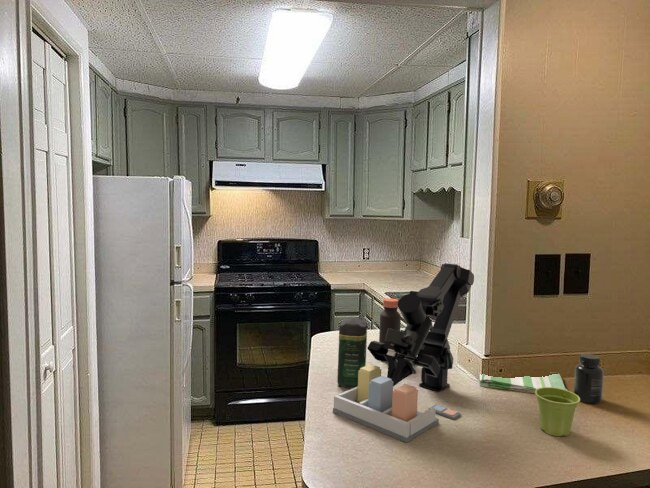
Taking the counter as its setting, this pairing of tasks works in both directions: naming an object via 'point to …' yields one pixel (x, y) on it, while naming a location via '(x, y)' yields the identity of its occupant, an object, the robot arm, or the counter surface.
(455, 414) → the tile
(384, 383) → the pale blue block
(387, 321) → the vinegar
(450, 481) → the counter surface
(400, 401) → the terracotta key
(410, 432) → the grey divided tray
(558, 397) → the plant pot
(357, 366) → the coffee jar
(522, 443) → the counter surface
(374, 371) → the yellow block
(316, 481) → the counter surface
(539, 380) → the dish towel
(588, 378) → the supplement bottle
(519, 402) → the counter surface
